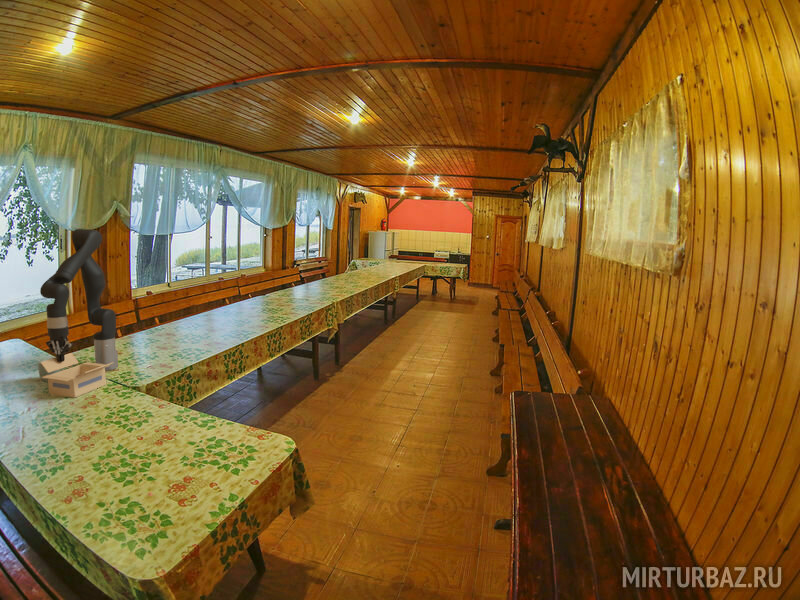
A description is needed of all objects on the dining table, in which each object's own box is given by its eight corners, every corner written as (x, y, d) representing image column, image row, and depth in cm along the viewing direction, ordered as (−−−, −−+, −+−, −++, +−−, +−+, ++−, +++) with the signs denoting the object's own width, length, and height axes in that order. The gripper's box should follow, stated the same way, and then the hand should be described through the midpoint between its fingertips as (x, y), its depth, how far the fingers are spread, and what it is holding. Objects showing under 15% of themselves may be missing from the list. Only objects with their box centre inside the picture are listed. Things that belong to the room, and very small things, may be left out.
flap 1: (78, 362, 202) (78, 363, 203) (71, 352, 202) (71, 353, 202) (48, 372, 188) (47, 373, 188) (40, 362, 188) (40, 362, 188)
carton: (87, 379, 208) (86, 361, 206) (111, 383, 205) (110, 365, 204) (42, 396, 186) (40, 377, 184) (68, 400, 184) (66, 380, 182)
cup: (48, 384, 200) (46, 364, 198) (35, 382, 201) (33, 362, 200) (64, 378, 207) (63, 359, 206) (51, 376, 209) (50, 357, 207)
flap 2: (75, 376, 186) (75, 377, 186) (84, 372, 184) (85, 373, 184) (104, 366, 200) (104, 367, 200) (113, 362, 199) (113, 362, 199)
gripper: (77, 325, 195) (80, 360, 198) (53, 322, 197) (56, 357, 200) (62, 329, 187) (65, 365, 190) (37, 326, 190) (41, 362, 192)
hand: (60, 361), depth 195 cm, fingers closed
